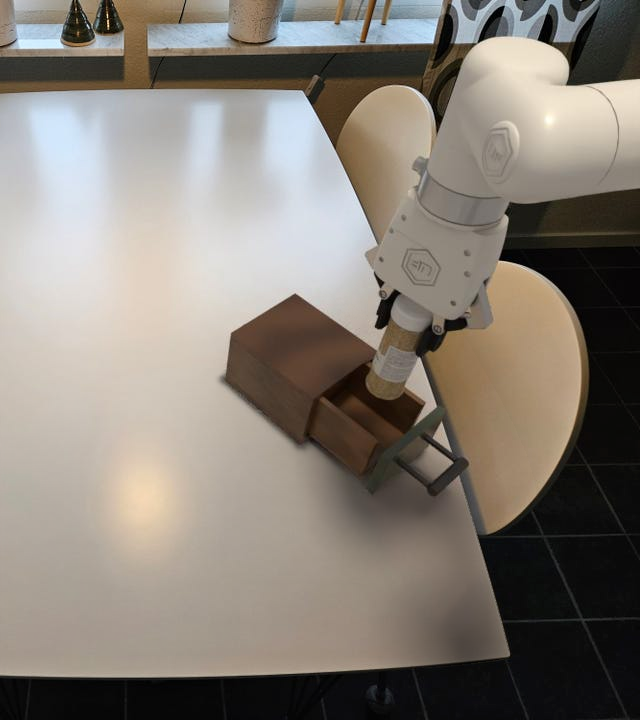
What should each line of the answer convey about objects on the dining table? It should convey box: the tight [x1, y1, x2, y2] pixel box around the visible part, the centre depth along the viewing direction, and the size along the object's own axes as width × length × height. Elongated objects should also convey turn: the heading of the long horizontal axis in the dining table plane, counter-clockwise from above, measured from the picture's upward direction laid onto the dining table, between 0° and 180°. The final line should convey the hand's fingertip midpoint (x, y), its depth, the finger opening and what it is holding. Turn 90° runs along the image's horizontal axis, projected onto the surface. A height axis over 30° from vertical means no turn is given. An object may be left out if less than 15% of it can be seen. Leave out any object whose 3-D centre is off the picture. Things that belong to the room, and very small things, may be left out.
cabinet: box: [224, 293, 378, 445], centre depth 88 cm, size 15×13×10 cm
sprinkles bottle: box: [365, 293, 434, 400], centre depth 72 cm, size 5×5×14 cm
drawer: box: [307, 362, 470, 498], centre depth 81 cm, size 19×11×8 cm, turn 40°
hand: (405, 335), depth 70 cm, fingers closed on sprinkles bottle, 4 cm apart
